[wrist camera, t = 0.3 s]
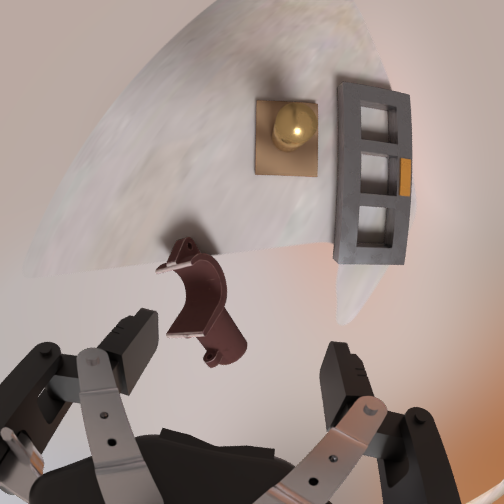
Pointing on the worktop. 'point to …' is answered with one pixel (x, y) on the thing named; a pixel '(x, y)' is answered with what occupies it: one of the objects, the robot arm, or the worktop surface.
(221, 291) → the bracket
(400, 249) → the grey flat frame
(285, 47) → the worktop surface
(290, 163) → the tan rectangular plate
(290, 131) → the gold domed cylinder
